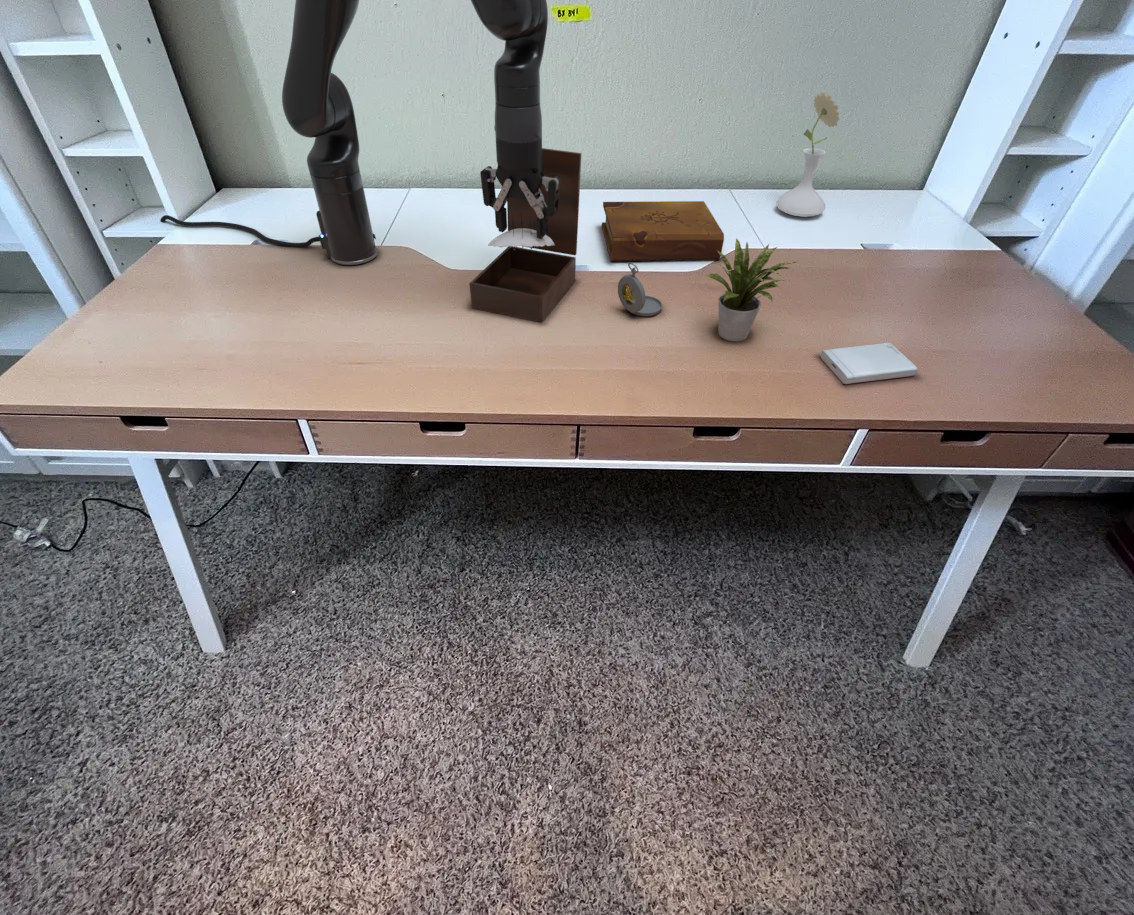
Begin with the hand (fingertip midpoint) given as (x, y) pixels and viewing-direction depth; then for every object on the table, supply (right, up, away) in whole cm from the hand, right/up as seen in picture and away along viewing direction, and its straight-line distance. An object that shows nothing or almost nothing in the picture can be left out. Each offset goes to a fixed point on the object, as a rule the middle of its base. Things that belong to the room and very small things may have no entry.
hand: (521, 233), depth 112 cm
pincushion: (0, -2, +2) cm, 3 cm away
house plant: (+37, -19, -3) cm, 42 cm away
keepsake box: (0, -9, +8) cm, 12 cm away
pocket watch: (+21, -13, +4) cm, 25 cm away
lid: (+3, +8, +5) cm, 9 cm away
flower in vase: (+64, +20, +40) cm, 79 cm away
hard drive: (+57, -25, -9) cm, 63 cm away
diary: (+28, +7, +26) cm, 39 cm away
